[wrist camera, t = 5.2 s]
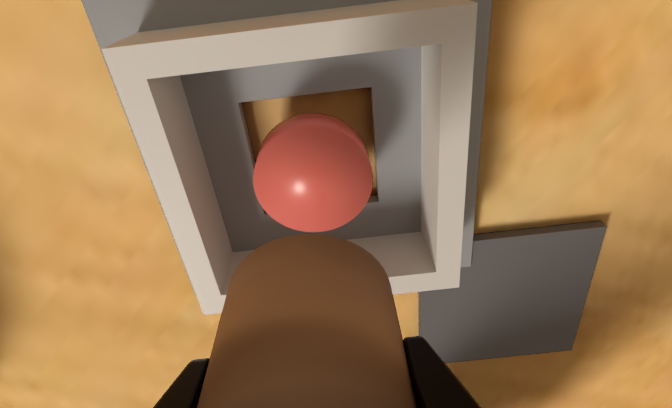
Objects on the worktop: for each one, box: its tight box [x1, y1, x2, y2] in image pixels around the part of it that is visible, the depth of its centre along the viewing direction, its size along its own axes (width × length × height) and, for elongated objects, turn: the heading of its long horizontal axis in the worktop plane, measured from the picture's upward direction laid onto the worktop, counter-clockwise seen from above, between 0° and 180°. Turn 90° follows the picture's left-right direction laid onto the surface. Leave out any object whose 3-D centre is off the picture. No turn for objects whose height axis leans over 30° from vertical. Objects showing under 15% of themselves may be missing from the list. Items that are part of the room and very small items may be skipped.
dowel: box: [197, 234, 418, 408], centre depth 8 cm, size 4×4×6 cm
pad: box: [419, 221, 607, 363], centre depth 23 cm, size 9×9×1 cm
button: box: [253, 113, 373, 232], centre depth 16 cm, size 4×4×1 cm
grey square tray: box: [81, 0, 492, 315], centre depth 16 cm, size 14×14×4 cm
